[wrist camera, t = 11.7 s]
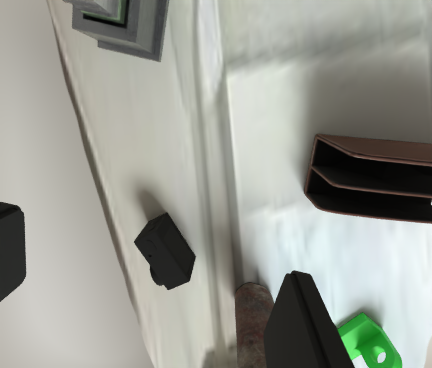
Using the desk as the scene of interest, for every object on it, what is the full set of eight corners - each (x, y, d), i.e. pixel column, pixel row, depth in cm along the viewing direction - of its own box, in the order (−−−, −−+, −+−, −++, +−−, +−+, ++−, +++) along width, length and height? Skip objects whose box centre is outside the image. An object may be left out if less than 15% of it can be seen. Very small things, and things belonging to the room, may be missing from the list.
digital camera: (142, 223, 45) (126, 244, 38) (166, 211, 44) (154, 230, 37) (171, 267, 47) (161, 293, 41) (195, 256, 46) (189, 282, 40)
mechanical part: (362, 311, 48) (386, 350, 40) (382, 328, 49) (409, 369, 41) (314, 343, 51) (328, 385, 43) (334, 359, 52) (351, 402, 44)
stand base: (106, -27, 33) (68, -66, 26) (170, -12, 33) (151, -46, 26) (101, 48, 36) (66, 33, 29) (160, 62, 36) (141, 51, 29)
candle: (280, 289, 47) (311, 414, 28) (264, 316, 50) (283, 449, 31) (243, 276, 47) (249, 393, 28) (229, 304, 49) (226, 430, 30)
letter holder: (314, 133, 38) (358, 149, 25) (446, 144, 37) (566, 166, 24) (302, 193, 41) (335, 236, 28) (424, 204, 40) (518, 254, 27)
